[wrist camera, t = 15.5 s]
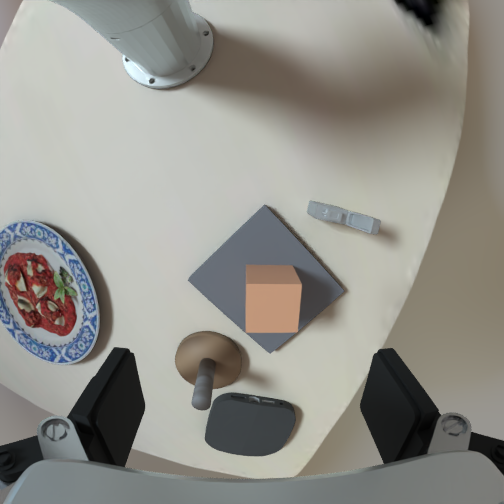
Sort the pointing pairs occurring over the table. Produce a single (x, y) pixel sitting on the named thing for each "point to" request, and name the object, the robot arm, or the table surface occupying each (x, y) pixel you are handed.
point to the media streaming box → (249, 424)
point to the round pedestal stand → (207, 364)
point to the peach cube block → (272, 299)
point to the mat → (263, 253)
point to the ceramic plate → (46, 294)
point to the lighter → (343, 217)
